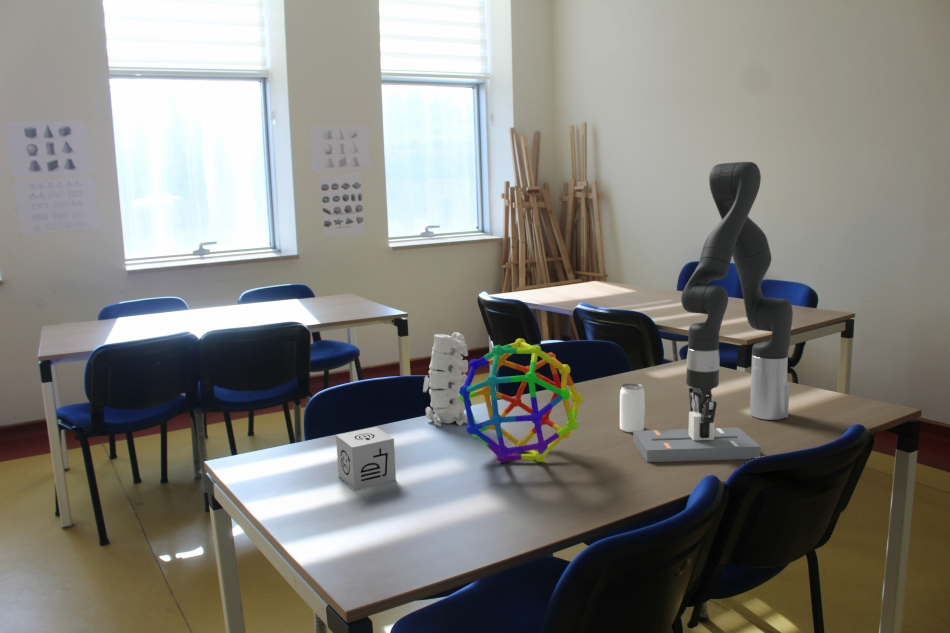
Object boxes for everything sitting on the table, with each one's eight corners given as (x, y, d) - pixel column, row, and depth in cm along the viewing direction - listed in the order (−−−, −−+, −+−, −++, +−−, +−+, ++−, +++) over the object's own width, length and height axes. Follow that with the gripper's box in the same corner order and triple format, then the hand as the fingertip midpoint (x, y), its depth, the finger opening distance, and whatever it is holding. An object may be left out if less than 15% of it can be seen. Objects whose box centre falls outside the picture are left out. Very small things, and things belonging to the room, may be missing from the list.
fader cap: (708, 434, 181) (709, 411, 180) (714, 439, 177) (714, 416, 176) (688, 434, 181) (689, 411, 180) (693, 440, 177) (694, 416, 176)
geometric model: (609, 353, 181) (498, 315, 189) (587, 378, 153) (458, 331, 161) (573, 462, 187) (467, 420, 195) (546, 504, 159) (424, 453, 168)
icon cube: (395, 480, 166) (393, 438, 164) (354, 490, 161) (352, 447, 159) (378, 466, 174) (376, 426, 172) (338, 476, 169) (336, 435, 167)
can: (644, 433, 192) (645, 389, 190) (619, 432, 194) (619, 389, 191) (643, 425, 198) (644, 383, 196) (619, 424, 200) (620, 382, 198)
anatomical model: (478, 422, 205) (475, 335, 201) (438, 430, 200) (435, 340, 195) (461, 412, 215) (459, 329, 210) (423, 419, 209) (419, 334, 205)
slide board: (738, 438, 186) (738, 427, 186) (760, 458, 173) (760, 446, 172) (633, 442, 186) (633, 430, 186) (646, 462, 172) (647, 449, 172)
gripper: (729, 373, 169) (726, 443, 172) (708, 359, 183) (706, 424, 186) (696, 374, 169) (695, 445, 172) (678, 360, 183) (677, 425, 186)
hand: (701, 434), depth 179 cm, fingers closed on fader cap, 4 cm apart
